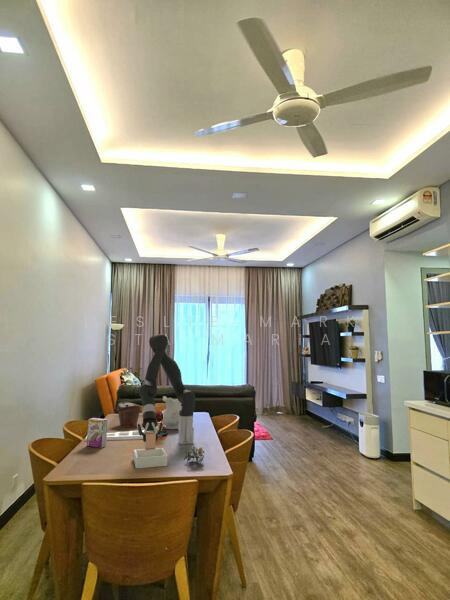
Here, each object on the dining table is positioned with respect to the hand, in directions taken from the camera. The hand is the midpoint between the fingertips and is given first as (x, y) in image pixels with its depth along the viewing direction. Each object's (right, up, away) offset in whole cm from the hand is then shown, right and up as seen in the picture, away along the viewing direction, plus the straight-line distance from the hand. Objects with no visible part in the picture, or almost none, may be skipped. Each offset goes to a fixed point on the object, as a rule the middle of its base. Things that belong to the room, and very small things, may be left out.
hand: (150, 441), depth 196 cm
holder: (-31, -19, +56) cm, 67 cm away
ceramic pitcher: (0, -23, +87) cm, 90 cm away
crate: (0, -11, 0) cm, 11 cm away
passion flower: (+23, -12, -2) cm, 26 cm away
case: (-36, -23, +92) cm, 102 cm away
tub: (-1, -4, +1) cm, 5 cm away
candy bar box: (-40, -15, +30) cm, 52 cm away
